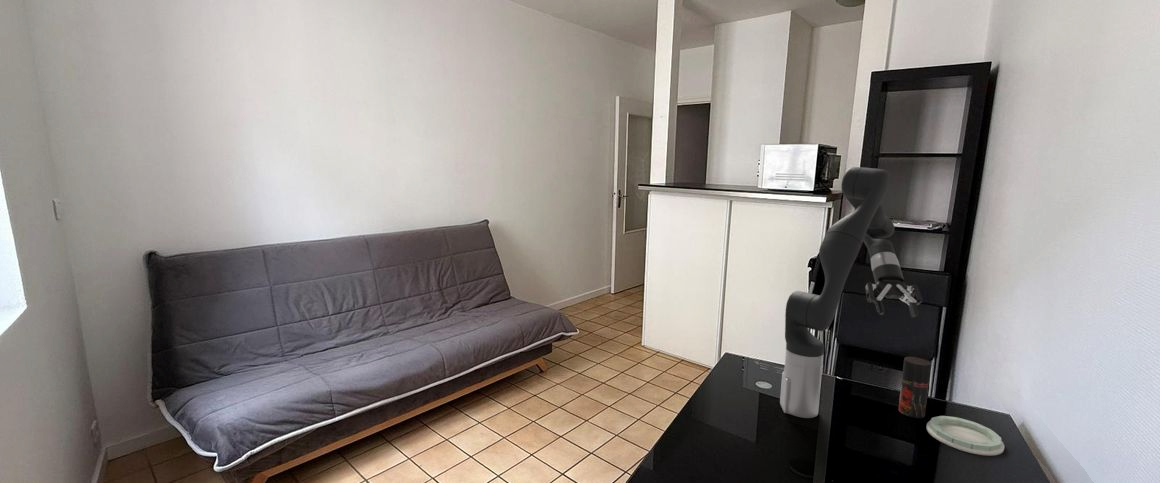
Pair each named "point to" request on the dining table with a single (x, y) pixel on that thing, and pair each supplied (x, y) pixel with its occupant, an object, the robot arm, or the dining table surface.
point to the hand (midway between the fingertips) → (898, 314)
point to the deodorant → (914, 387)
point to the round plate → (965, 435)
